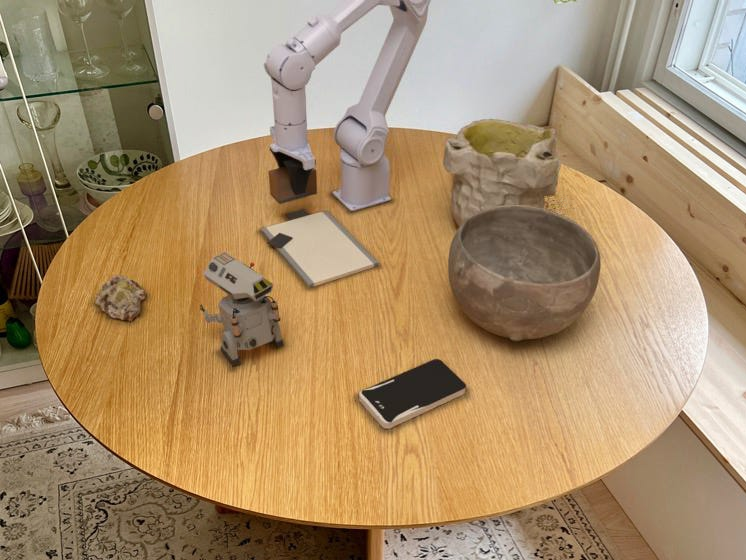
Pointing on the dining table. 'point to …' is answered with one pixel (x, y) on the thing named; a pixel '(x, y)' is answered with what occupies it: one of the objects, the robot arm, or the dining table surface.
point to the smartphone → (411, 393)
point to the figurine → (243, 307)
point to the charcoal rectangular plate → (297, 214)
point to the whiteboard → (320, 249)
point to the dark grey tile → (280, 240)
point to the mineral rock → (121, 298)
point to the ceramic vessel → (500, 166)
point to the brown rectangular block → (289, 185)
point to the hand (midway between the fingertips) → (294, 187)
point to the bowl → (523, 270)
